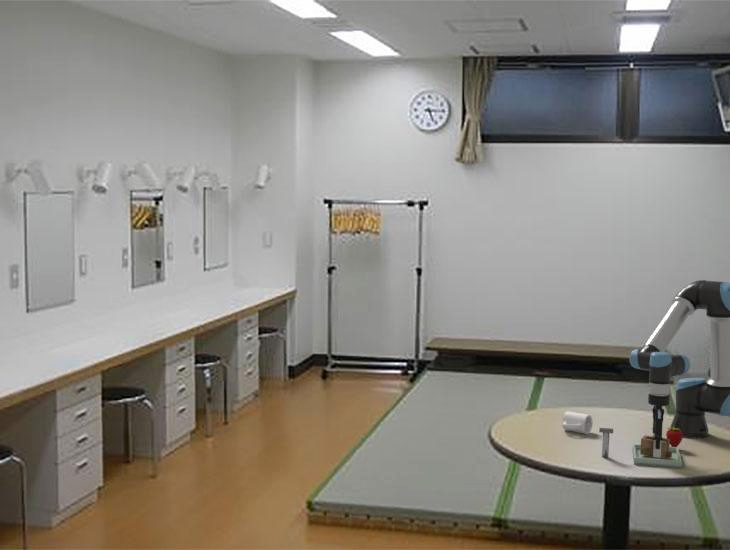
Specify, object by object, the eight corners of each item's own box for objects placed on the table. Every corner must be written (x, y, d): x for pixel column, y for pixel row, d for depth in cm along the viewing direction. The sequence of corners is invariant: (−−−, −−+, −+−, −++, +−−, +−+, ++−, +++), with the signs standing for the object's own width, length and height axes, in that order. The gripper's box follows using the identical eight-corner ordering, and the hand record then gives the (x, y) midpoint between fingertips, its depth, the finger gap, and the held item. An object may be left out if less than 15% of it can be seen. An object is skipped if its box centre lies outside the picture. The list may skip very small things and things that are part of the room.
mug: (570, 428, 397) (571, 409, 396) (592, 432, 391) (593, 413, 390) (557, 433, 388) (557, 414, 387) (579, 437, 381) (579, 418, 381)
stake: (612, 456, 354) (613, 428, 353) (612, 458, 352) (613, 429, 351) (598, 455, 355) (599, 427, 354) (598, 457, 353) (599, 428, 352)
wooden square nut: (640, 454, 352) (641, 438, 351) (644, 450, 357) (645, 435, 356) (669, 459, 346) (669, 443, 346) (673, 455, 351) (674, 439, 351)
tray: (677, 453, 359) (677, 447, 359) (681, 468, 340) (682, 461, 340) (632, 450, 363) (632, 444, 363) (634, 464, 344) (634, 457, 344)
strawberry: (670, 451, 363) (671, 426, 362) (662, 446, 370) (663, 421, 369) (685, 451, 363) (686, 426, 362) (677, 446, 371) (678, 421, 370)
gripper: (647, 387, 360) (644, 446, 362) (649, 398, 341) (647, 460, 343) (667, 389, 359) (665, 448, 361) (671, 400, 339) (668, 462, 341)
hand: (656, 454), depth 352 cm, fingers closed on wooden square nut, 7 cm apart
